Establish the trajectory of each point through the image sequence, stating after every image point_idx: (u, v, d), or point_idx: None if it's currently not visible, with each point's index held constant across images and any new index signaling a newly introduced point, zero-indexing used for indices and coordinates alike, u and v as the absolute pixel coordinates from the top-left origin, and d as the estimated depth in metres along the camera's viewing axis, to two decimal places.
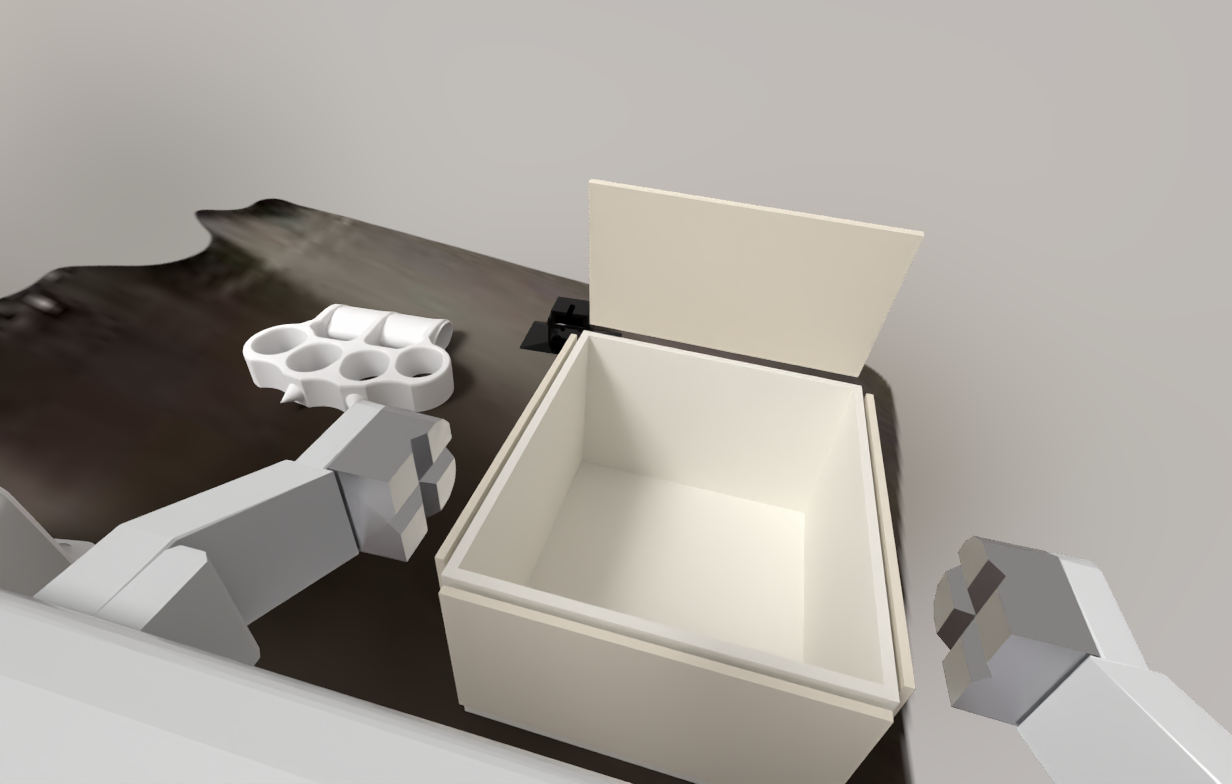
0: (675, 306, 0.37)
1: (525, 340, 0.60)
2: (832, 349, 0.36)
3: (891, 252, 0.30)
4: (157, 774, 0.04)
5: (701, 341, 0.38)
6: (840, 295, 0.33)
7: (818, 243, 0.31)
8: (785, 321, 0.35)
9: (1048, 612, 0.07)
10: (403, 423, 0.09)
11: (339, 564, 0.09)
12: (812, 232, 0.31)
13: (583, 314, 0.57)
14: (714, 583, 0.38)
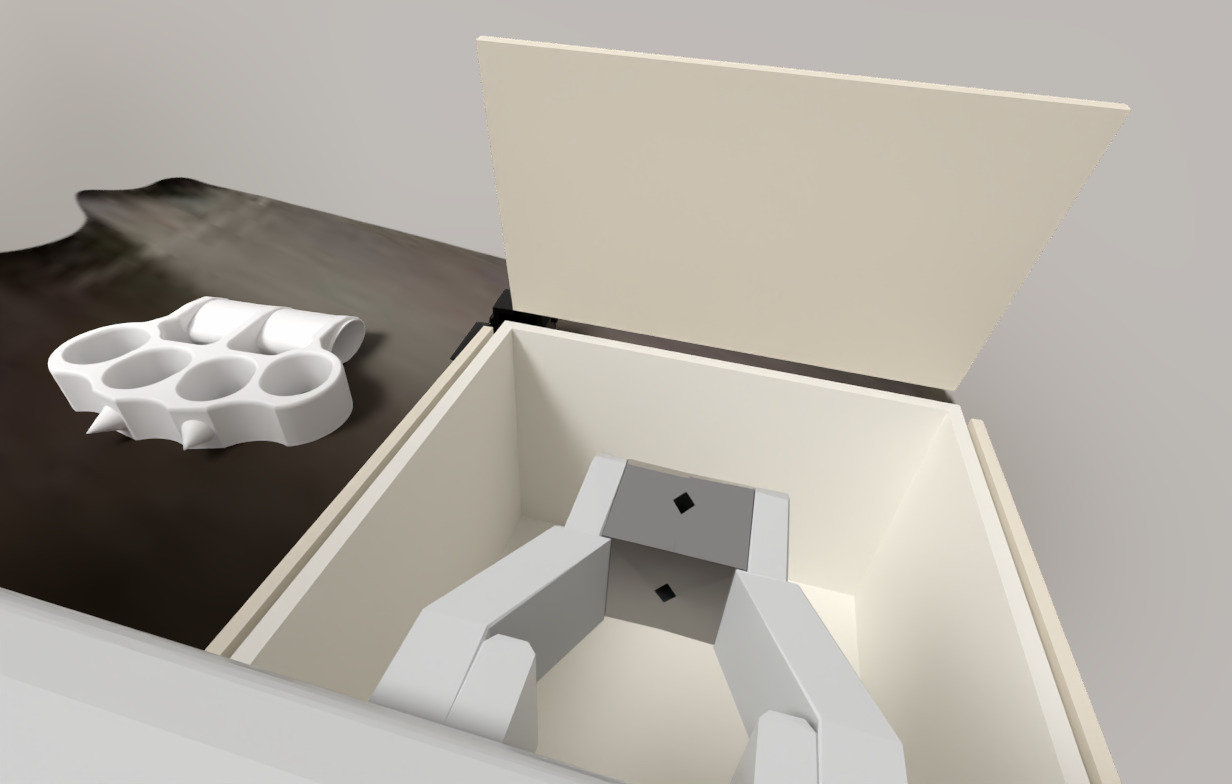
0: (646, 275, 0.22)
1: (462, 348, 0.45)
2: (914, 343, 0.21)
3: (1054, 151, 0.16)
4: (157, 774, 0.04)
5: (691, 335, 0.23)
6: (940, 245, 0.18)
7: (907, 140, 0.16)
8: (834, 297, 0.20)
9: (718, 535, 0.08)
10: (656, 480, 0.09)
11: (588, 632, 0.09)
12: (898, 118, 0.16)
13: None
14: (718, 731, 0.23)
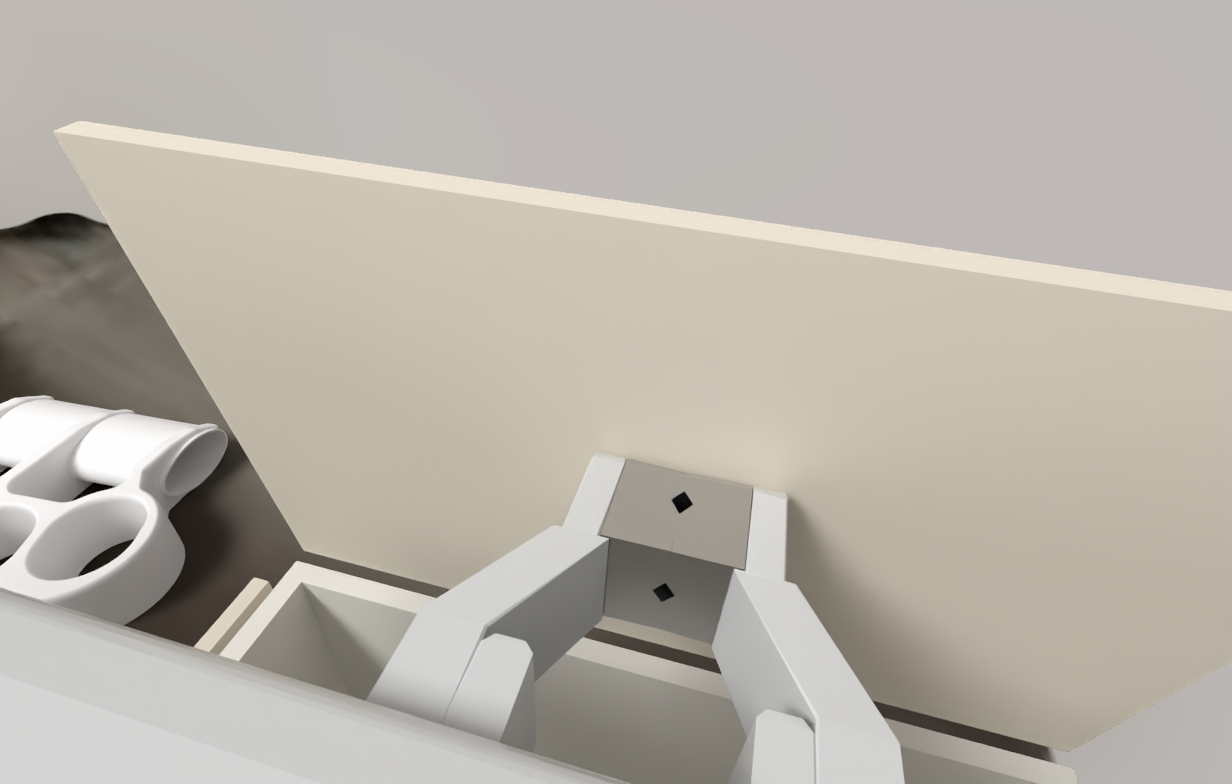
0: (503, 539, 0.12)
1: None
2: (999, 689, 0.11)
3: None
4: (157, 774, 0.04)
5: None
6: (1080, 571, 0.08)
7: (1038, 393, 0.07)
8: (850, 611, 0.11)
9: (715, 534, 0.08)
10: (654, 479, 0.09)
11: (586, 631, 0.09)
12: (1019, 349, 0.06)
13: None
14: None
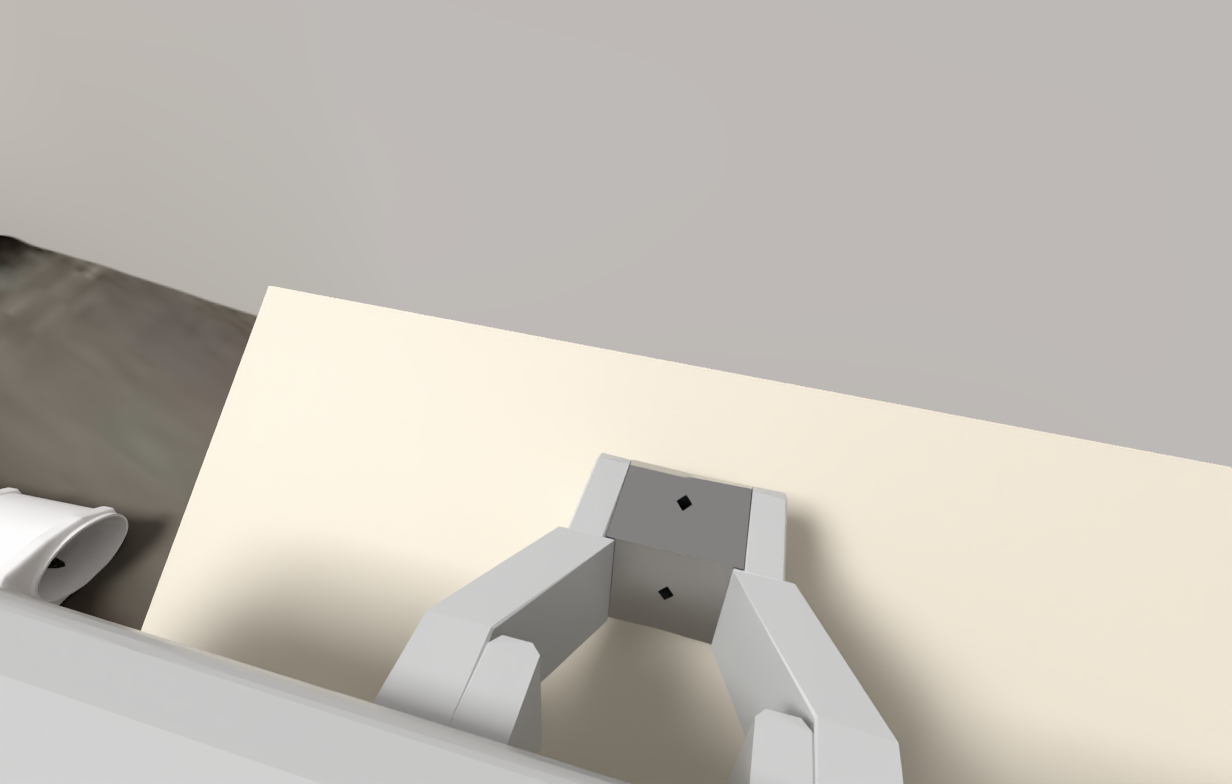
0: None
1: None
2: None
3: (1159, 528, 0.09)
4: (157, 774, 0.04)
5: None
6: (1030, 715, 0.09)
7: (914, 489, 0.10)
8: None
9: (714, 534, 0.08)
10: (660, 481, 0.09)
11: (591, 632, 0.09)
12: (890, 450, 0.10)
13: None
14: None
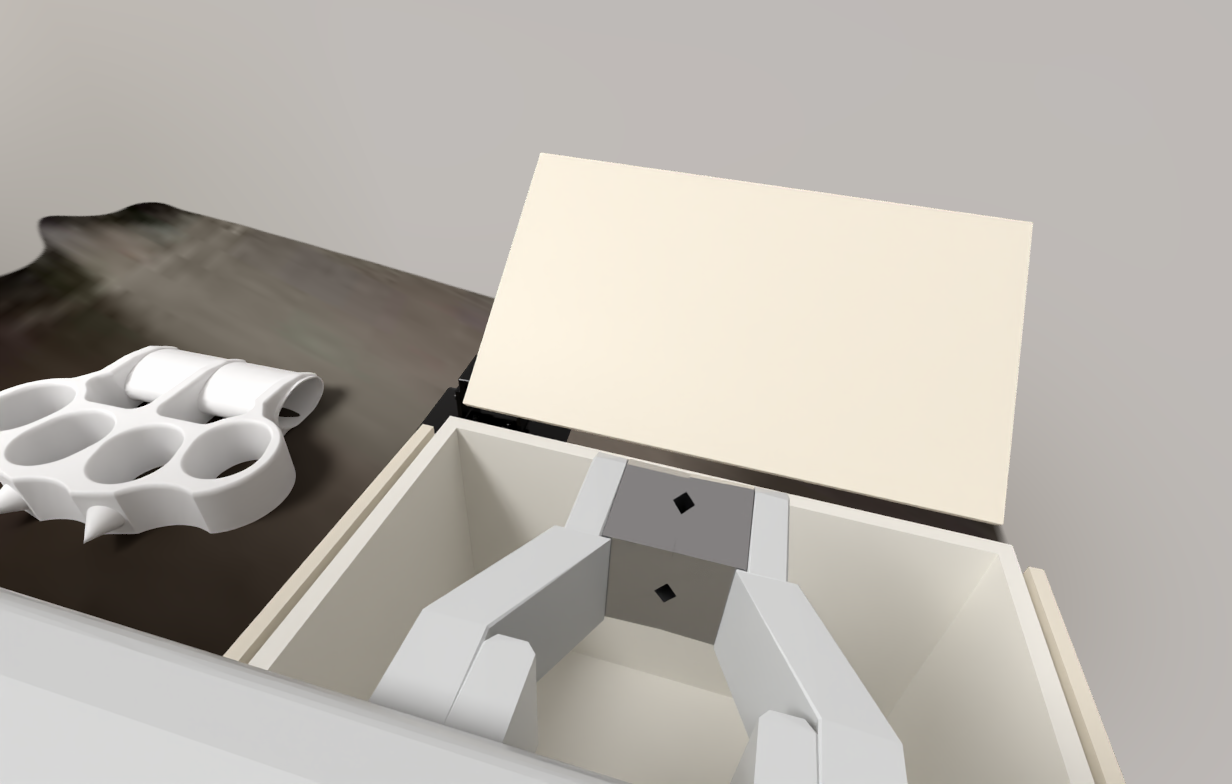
0: (636, 358, 0.20)
1: (426, 421, 0.39)
2: (935, 449, 0.18)
3: (992, 248, 0.20)
4: (157, 774, 0.04)
5: (677, 439, 0.19)
6: (928, 327, 0.19)
7: (877, 236, 0.20)
8: (838, 385, 0.19)
9: (718, 535, 0.08)
10: (656, 480, 0.09)
11: (588, 632, 0.09)
12: (866, 219, 0.20)
13: None
14: None
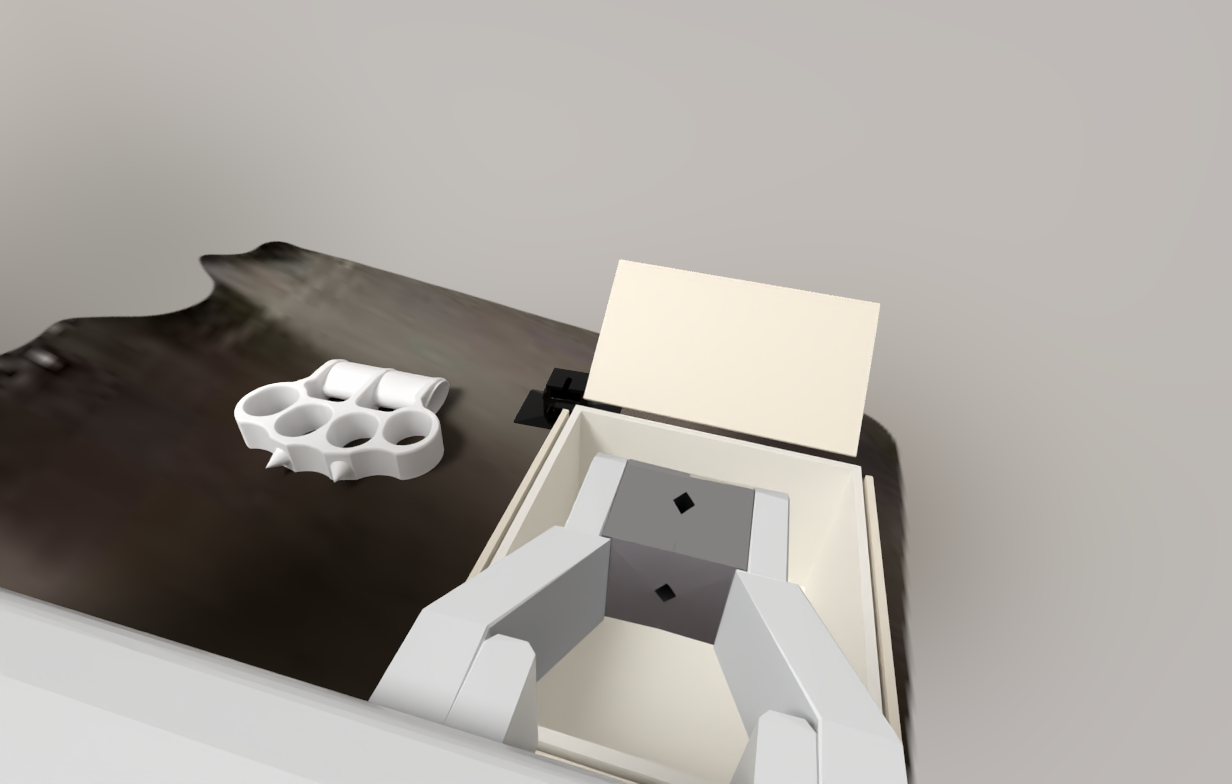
0: (675, 374, 0.39)
1: (520, 413, 0.57)
2: (825, 420, 0.37)
3: (859, 317, 0.38)
4: (157, 774, 0.04)
5: (696, 415, 0.38)
6: (825, 358, 0.38)
7: (801, 309, 0.39)
8: (778, 388, 0.37)
9: (718, 534, 0.08)
10: (656, 480, 0.09)
11: (588, 632, 0.09)
12: (795, 301, 0.39)
13: (580, 389, 0.54)
14: (710, 668, 0.37)
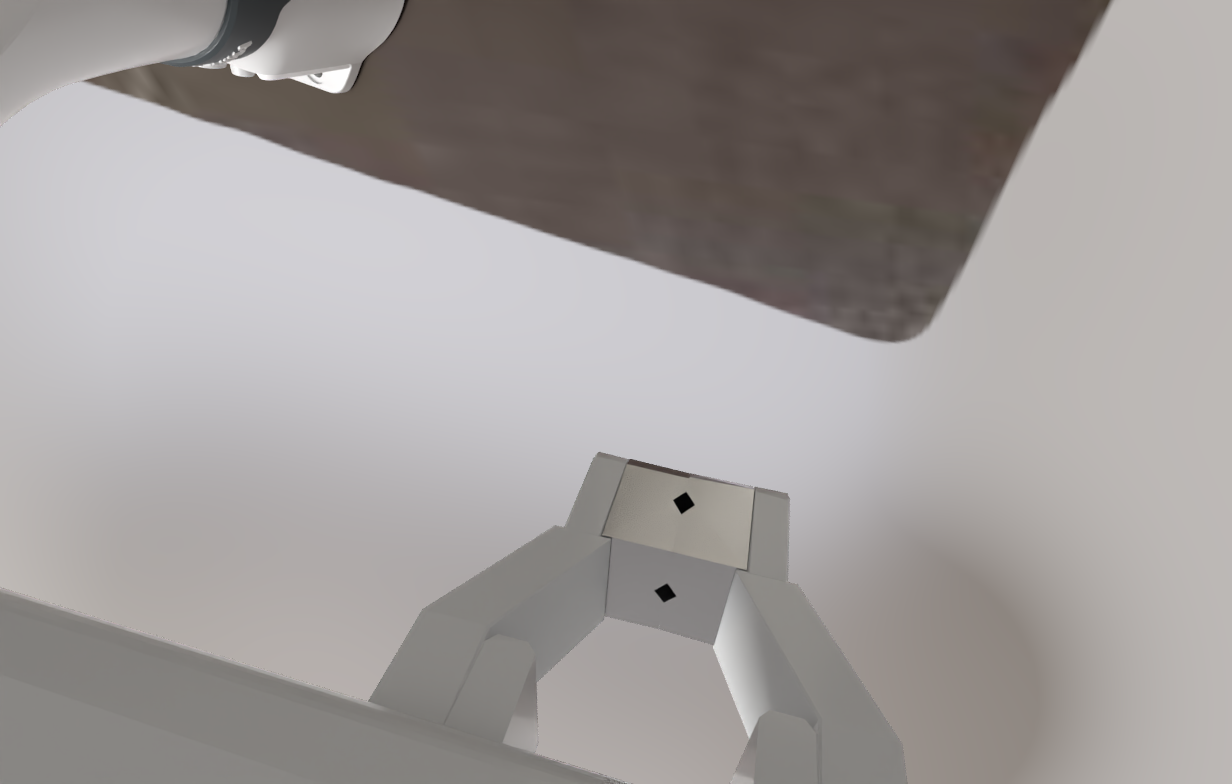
0: None
1: None
2: None
3: None
4: (157, 774, 0.04)
5: None
6: None
7: None
8: None
9: (717, 534, 0.08)
10: (656, 480, 0.09)
11: (588, 632, 0.09)
12: None
13: None
14: None
